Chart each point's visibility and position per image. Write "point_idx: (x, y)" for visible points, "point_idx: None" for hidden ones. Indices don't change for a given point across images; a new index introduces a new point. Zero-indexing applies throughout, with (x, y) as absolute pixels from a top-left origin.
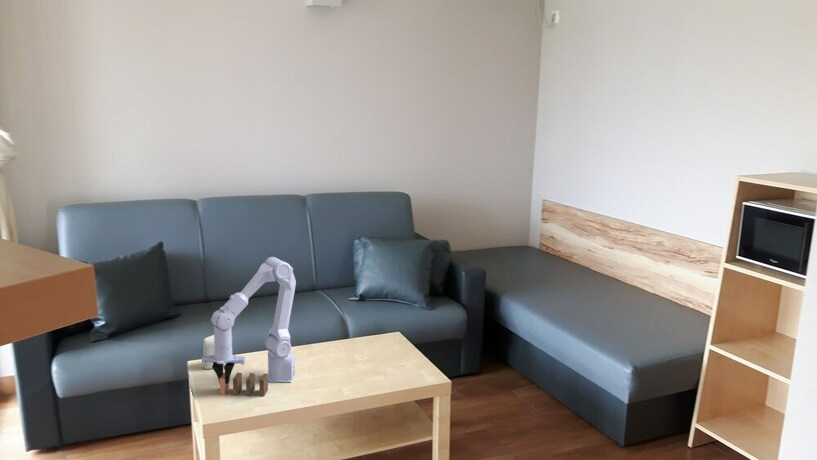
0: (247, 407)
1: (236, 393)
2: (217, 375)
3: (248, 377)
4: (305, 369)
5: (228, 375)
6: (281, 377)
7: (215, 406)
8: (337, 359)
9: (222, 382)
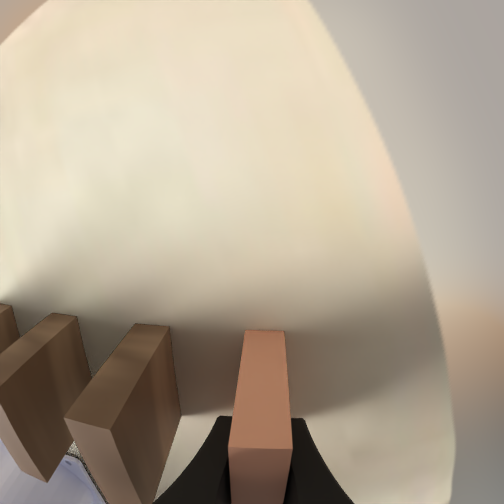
0: (17, 138)
1: (139, 332)
2: (331, 485)
3: (4, 421)
4: None
5: (173, 483)
6: None
7: (255, 105)
8: None
9: (254, 408)
